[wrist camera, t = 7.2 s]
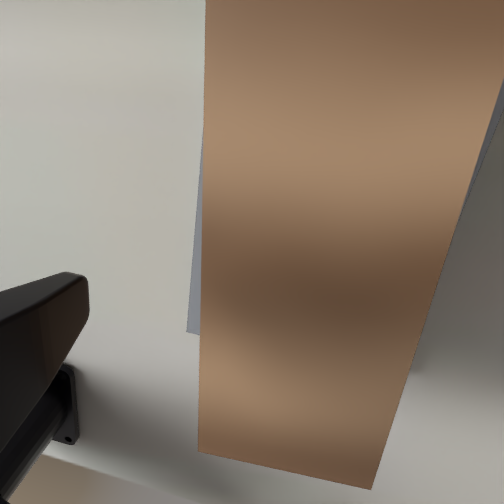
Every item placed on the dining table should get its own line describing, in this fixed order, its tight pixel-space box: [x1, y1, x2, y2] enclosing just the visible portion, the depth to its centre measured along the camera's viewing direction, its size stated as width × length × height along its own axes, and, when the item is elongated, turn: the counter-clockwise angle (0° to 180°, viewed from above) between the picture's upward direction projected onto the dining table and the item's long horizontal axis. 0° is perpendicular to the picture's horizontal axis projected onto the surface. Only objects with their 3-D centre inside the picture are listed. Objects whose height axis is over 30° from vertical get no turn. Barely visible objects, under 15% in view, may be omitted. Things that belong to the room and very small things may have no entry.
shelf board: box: [198, 0, 504, 490], centre depth 12 cm, size 14×6×4 cm, turn 176°
